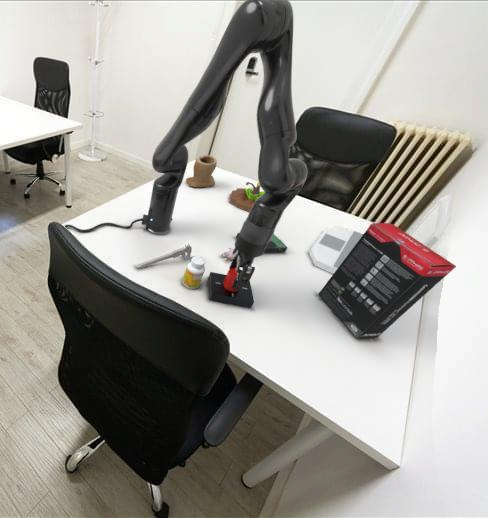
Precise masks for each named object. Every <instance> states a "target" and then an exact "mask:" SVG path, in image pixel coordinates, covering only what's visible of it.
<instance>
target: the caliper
mask: <svg viewBox="0 0 488 518" xmlns="http://www.w3.org/2000/svg"><path fill="white" fill-rule="evenodd" d="M192 249H193V248H192V246H191V244H190V243H187V245H186V244H184V247H180V248H178V249H174V250H173V251H171V252H169V253H166V254H162V255H160V256H157V257H154V258H152V259H151V258H150V259H149V260H148V259H147V260H146V261H143V262H139V264H137V265H135V267H136V268H137V269H143V268H146V267H148V266H149V267H150V266H152V265H154V264H157V263H160V262H163V261H166V260H169V259H171V258H173V259H177V258H179V257H181V258H182V259H183V260H186V258H187V259H189V258H190V257H191V255H192Z"/></svg>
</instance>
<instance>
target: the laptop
mask: <svg viewBox="0 0 488 518" xmlns="http://www.w3.org/2000/svg"><path fill="white" fill-rule="evenodd" d="M452 204H453V196H452V195H451V194H450V193H448V194H446V195H444V196H442V197H440V198H439V199H438V201H437V202H436V203H435V204H433V206H432V207H431V208H430V209H429V211H428V212H427V213H426V214H425V215H424V216H423V218H422V219H421V220H420V221H419V222H418V223H417V224H416V225H415V227H414V228H413V229H412V230H411V231H410V232H409V233H408V235H410V236H411V237H413V238H414V239H416V240H417V241H419V242H420V243H422V244H423V245H425V246H426V247H428V248H429V249H431V248H432V247H434V245H435V244H436V243H437V242H438V241H439V240H440V239H441V237H442V235H443V234H444V231H445V230H446V228H447V227H448V225H449V223H450V221H451V215H452V206H453V205H452ZM363 234H364V233H361V232H358V231H356V230H353V229H350V228H347V227H344V226H342V225H337V226H330V227H326V228H325V229H324V230H323V231H322V233H321V234H320V236H319V237H318V238H317V239H316V240H315V242H314V243H313V245H312V246H311V247H310V249H309V253H308V254H309V256H310V258H311V261H312V263H313V265H314V267H317V268H319V269H321V270H323V271H326V272H328V273H331V274H332V275H333V274H334V273H335V271H336V270H337V269H338V267H339V266H340V265H341V263H342V262H343V261H344V260H345V258H346V257H347V256H348V254H349V253H350V252H351V250H352V249H353V248H354V246H355V245H356V244H357V242H358V241H359V240H360V238H361V237H362V236H363Z"/></svg>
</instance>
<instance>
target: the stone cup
mask: <svg viewBox="0 0 488 518" xmlns="http://www.w3.org/2000/svg"><path fill="white" fill-rule="evenodd" d="M217 161H218V160H217V158H216V157H214V156H212V155H210V154H209V155H208V154H203V155H201V156H197V158H196V159H195V161H194V164H193V176H189V177H186V179H185V182H186V183H187V184H188V185H189V186H190V187H193V188H204V187H209V186H211V187H212V186H215V185H216V181H215V179H214V176H213V175H212V174H213V173H214V172H215V170H216V168H217V164H218V163H217Z"/></svg>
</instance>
